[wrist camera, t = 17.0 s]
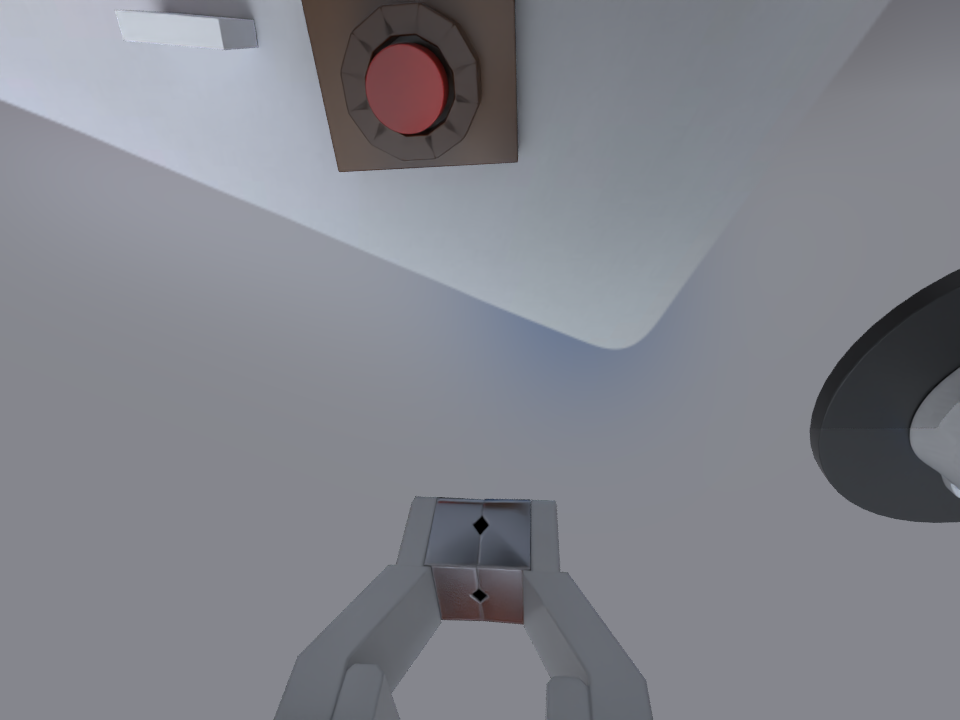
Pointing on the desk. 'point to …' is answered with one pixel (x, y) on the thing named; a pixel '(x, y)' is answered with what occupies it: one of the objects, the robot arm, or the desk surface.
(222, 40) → the eraser
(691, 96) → the desk surface
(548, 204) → the desk surface
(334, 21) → the button box
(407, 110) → the button
